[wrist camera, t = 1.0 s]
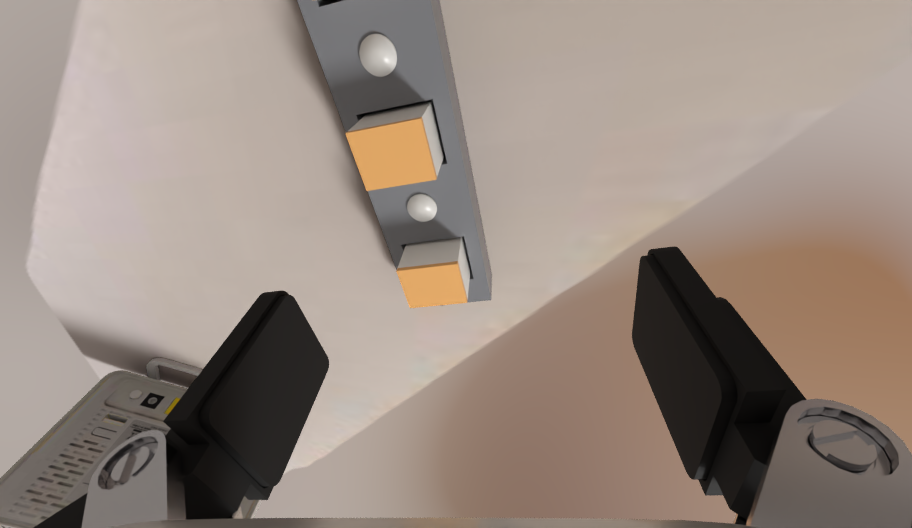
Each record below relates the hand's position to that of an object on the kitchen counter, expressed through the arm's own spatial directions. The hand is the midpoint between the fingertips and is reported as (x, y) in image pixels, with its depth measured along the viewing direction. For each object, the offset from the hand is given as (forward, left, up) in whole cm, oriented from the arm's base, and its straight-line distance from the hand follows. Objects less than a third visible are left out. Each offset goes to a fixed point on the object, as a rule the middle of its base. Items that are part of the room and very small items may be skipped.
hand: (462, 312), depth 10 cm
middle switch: (+6, 0, -20) cm, 21 cm away
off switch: (+6, +11, -20) cm, 24 cm away
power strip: (+6, 0, -23) cm, 24 cm away
